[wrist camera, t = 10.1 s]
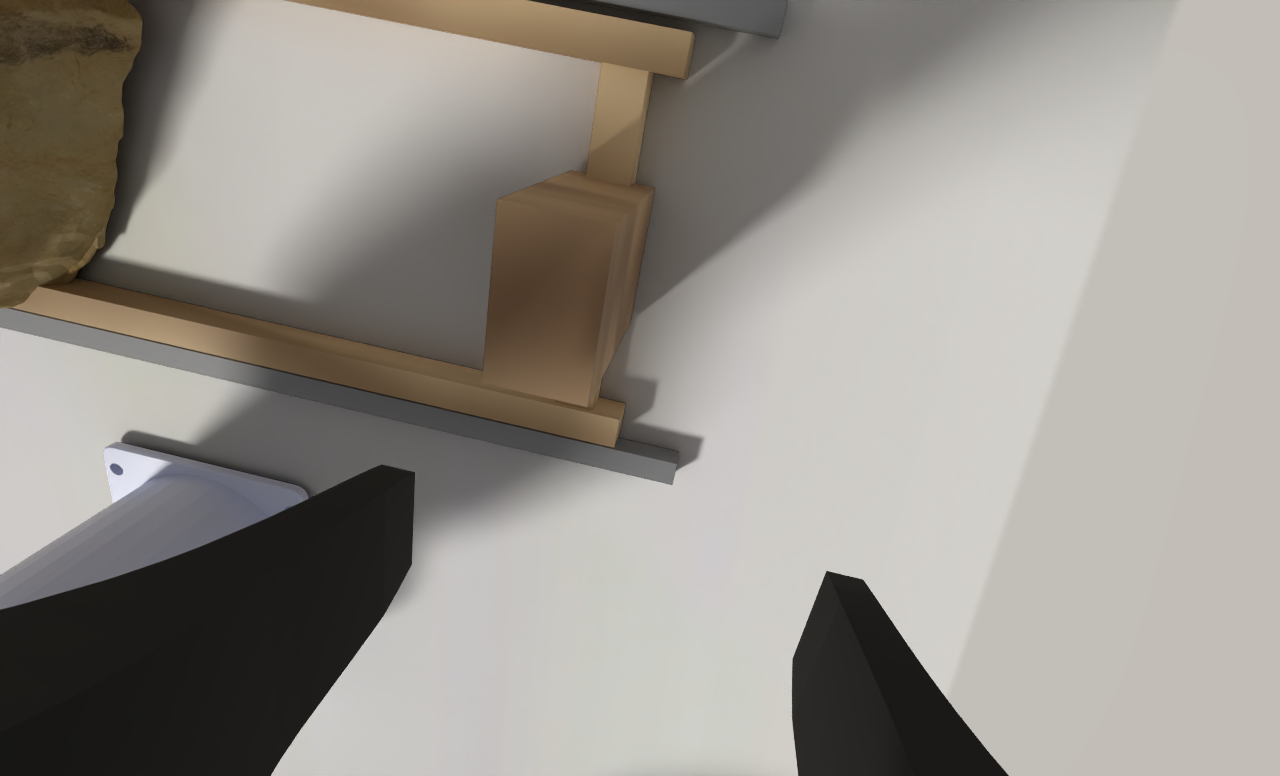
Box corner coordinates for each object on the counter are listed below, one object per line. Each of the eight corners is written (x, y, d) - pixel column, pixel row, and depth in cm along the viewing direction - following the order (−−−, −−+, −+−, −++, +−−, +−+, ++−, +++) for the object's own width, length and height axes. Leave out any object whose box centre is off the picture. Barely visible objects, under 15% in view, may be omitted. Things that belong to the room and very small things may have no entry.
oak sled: (620, 430, 21) (577, 546, 16) (-70, 270, 23) (-336, 325, 17) (695, 36, 16) (670, 2, 11) (-189, -135, 18) (-615, -243, 12)
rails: (674, 472, 22) (672, 485, 21) (-307, 242, 24) (-341, 247, 23) (868, -343, 13) (876, -368, 13) (-674, -583, 15) (-745, -617, 15)
